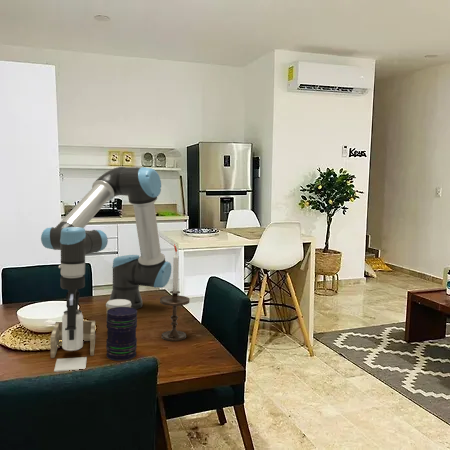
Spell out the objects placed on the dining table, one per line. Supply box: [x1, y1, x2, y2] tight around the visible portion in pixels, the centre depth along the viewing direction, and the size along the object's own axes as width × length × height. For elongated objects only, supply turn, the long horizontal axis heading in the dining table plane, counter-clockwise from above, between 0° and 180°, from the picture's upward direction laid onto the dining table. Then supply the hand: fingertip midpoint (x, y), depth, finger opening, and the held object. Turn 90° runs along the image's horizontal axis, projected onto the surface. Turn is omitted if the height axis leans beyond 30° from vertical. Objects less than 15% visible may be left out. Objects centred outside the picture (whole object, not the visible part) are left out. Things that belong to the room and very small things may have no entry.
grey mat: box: [53, 356, 88, 373], centre depth 142 cm, size 9×9×1 cm
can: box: [61, 309, 84, 352], centre depth 148 cm, size 6×6×12 cm
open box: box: [50, 320, 96, 359], centre depth 155 cm, size 15×13×7 cm
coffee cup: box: [105, 299, 132, 313], centre depth 171 cm, size 9×9×12 cm
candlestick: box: [159, 243, 191, 342], centre depth 168 cm, size 11×11×35 cm
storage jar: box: [105, 307, 138, 362], centre depth 150 cm, size 10×10×15 cm
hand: (72, 344), depth 149 cm, fingers closed on can, 6 cm apart
